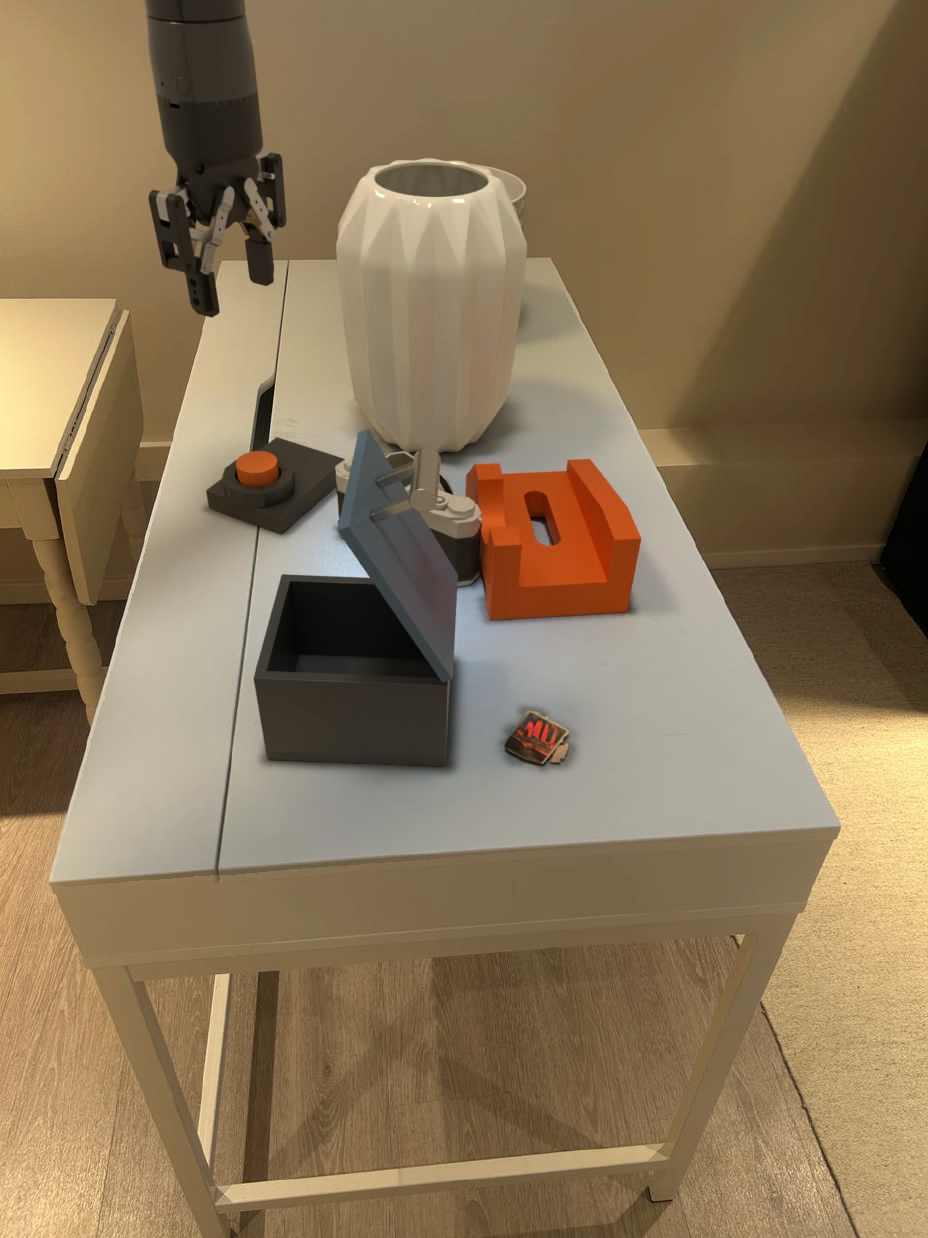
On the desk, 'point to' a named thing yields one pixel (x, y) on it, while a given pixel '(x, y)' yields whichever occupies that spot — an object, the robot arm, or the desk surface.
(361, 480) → the lid
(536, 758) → the matchbox
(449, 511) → the camera
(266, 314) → the desk surface
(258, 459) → the button
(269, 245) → the robot arm
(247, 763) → the desk surface
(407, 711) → the open box
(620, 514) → the orange slotted stand
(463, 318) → the vase
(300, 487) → the control block
